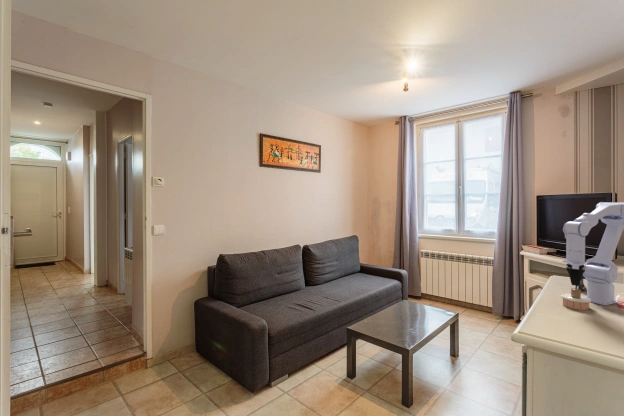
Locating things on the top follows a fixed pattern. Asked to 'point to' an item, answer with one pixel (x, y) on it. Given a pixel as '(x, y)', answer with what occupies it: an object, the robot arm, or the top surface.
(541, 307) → the top surface
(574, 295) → the lid
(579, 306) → the bowl
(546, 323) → the top surface
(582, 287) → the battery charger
